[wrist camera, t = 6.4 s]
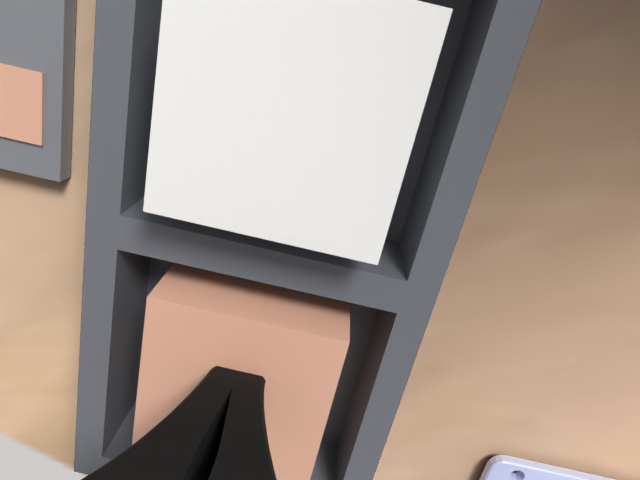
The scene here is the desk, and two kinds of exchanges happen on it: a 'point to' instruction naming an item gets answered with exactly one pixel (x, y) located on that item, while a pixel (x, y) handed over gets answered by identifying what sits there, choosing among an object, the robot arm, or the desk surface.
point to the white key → (290, 116)
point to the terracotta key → (245, 354)
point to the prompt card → (37, 86)
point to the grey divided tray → (273, 257)
